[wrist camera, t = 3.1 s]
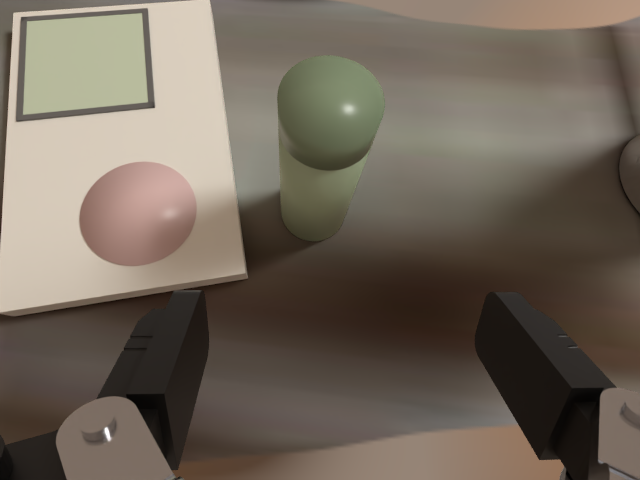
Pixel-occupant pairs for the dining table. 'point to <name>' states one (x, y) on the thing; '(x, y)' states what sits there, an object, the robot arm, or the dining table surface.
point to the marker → (324, 141)
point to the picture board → (116, 158)
